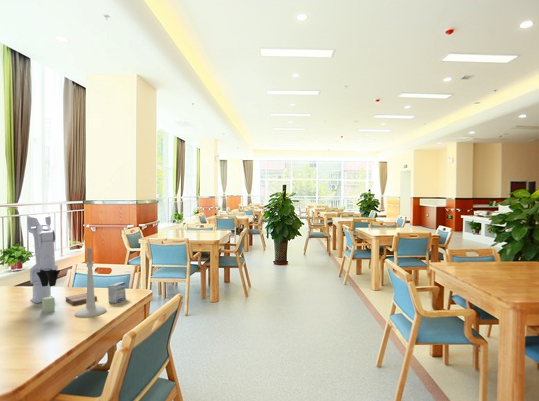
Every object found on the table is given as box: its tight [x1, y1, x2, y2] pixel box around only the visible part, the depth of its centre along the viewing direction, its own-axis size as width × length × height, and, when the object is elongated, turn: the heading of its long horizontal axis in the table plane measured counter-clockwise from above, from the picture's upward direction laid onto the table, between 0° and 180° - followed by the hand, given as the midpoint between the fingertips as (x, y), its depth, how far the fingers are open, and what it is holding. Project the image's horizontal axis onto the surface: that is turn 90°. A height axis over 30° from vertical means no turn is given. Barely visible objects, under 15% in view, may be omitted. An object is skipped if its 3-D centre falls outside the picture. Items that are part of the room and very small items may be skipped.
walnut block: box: [65, 292, 98, 306], centre depth 179 cm, size 11×11×2 cm
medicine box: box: [107, 281, 126, 304], centre depth 178 cm, size 8×4×9 cm, turn 168°
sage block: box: [41, 295, 56, 313], centre depth 163 cm, size 4×4×6 cm
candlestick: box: [74, 247, 107, 319], centre depth 160 cm, size 13×13×30 cm
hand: (48, 286), depth 163 cm, fingers open, 7 cm apart
